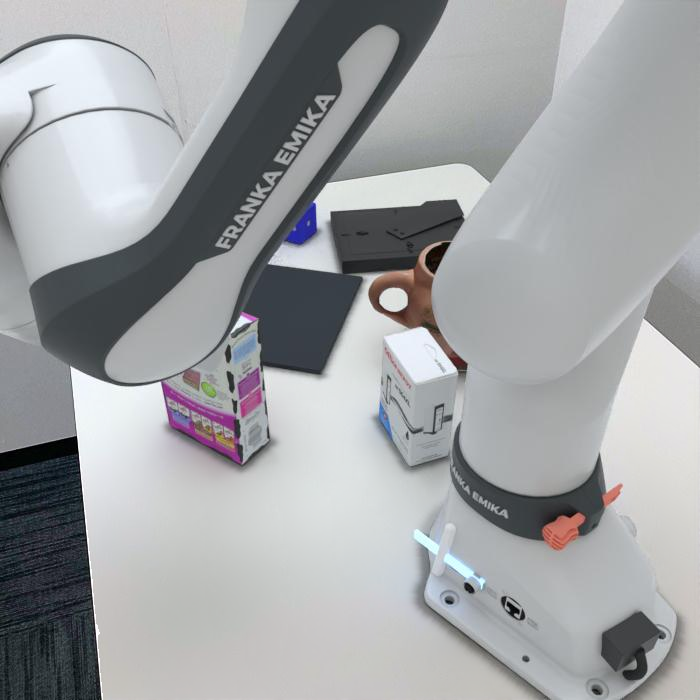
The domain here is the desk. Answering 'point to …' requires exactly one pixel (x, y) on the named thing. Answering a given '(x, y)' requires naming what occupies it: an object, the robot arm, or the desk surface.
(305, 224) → the die
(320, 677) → the desk surface
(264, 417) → the candy bar box
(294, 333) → the mat
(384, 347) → the ink box
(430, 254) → the decorative planter
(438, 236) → the picture frame
